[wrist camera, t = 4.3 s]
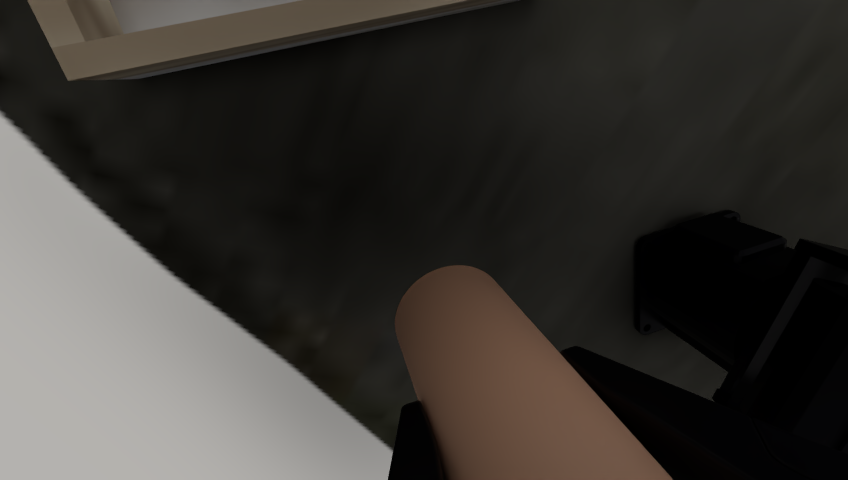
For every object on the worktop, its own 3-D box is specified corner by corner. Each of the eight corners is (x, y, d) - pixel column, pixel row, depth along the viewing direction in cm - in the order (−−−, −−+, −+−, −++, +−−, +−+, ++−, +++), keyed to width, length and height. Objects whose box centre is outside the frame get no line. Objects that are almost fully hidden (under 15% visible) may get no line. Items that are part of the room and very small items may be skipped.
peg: (509, 345, 13) (855, 812, 5) (408, 379, 12) (598, 963, 4) (496, 251, 12) (941, 671, 3) (382, 284, 11) (585, 866, 3)
